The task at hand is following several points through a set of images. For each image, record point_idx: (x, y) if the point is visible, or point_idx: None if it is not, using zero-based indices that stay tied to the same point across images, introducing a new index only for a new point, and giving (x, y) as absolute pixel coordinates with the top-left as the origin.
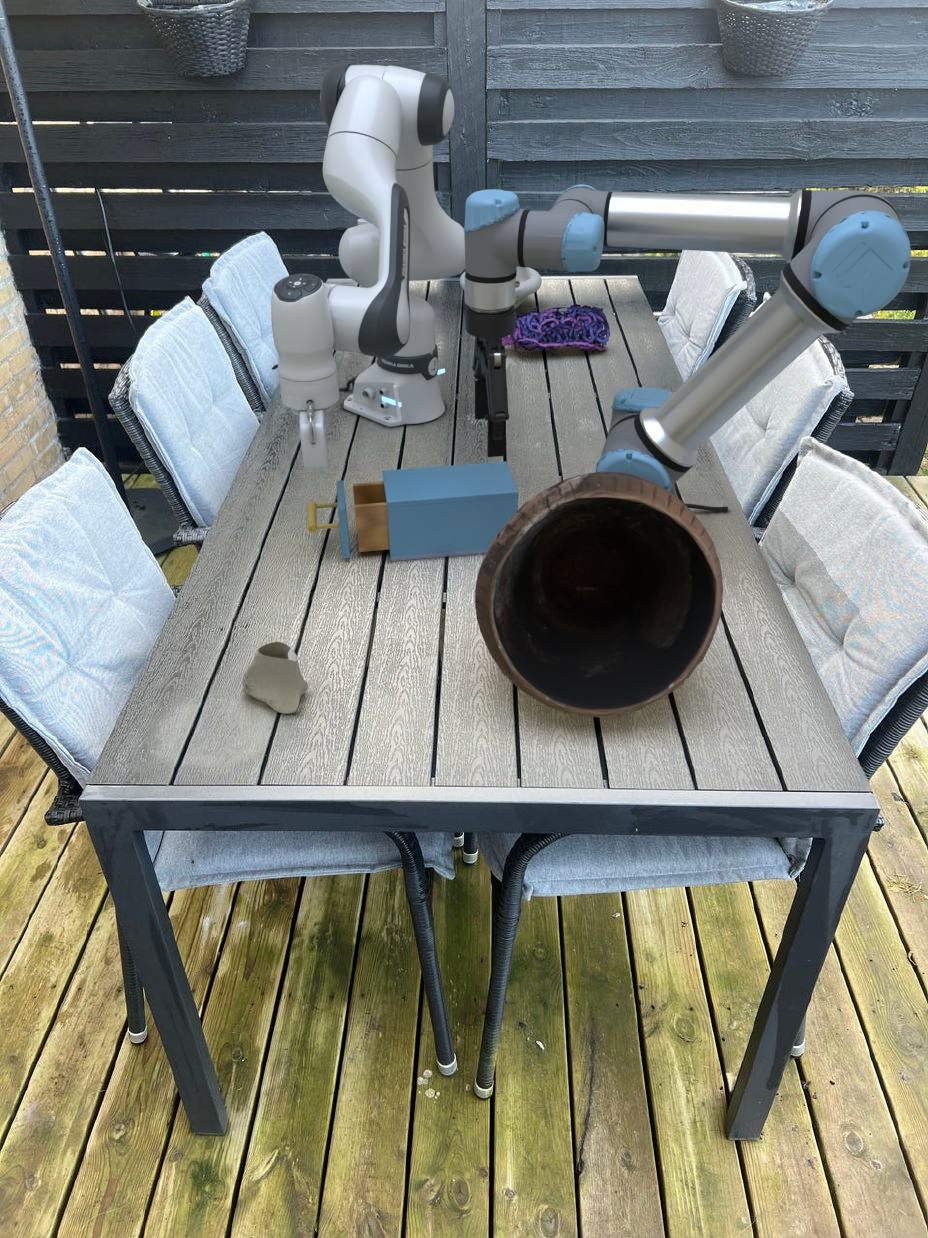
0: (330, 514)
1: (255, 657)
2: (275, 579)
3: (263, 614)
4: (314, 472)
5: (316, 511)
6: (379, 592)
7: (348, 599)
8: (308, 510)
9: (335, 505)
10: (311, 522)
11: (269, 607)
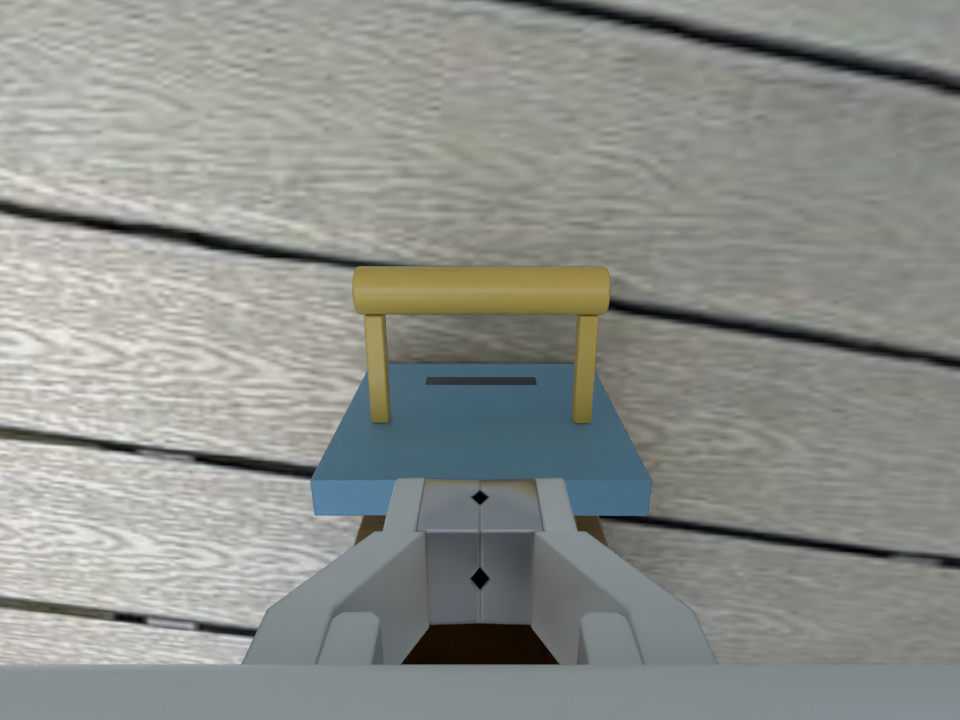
0: (741, 315)
1: None
2: (276, 78)
3: (20, 29)
4: (397, 483)
5: (526, 314)
6: (191, 459)
7: (146, 363)
8: (523, 276)
9: (572, 405)
10: (379, 294)
11: (72, 56)
